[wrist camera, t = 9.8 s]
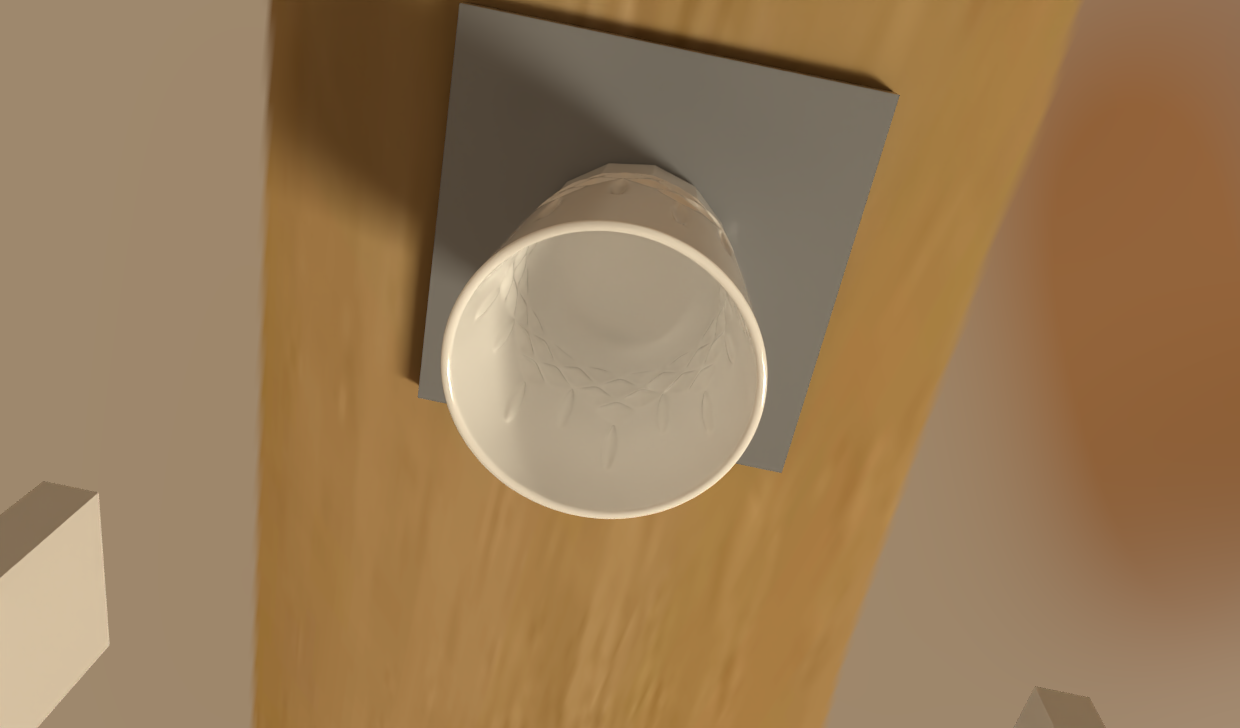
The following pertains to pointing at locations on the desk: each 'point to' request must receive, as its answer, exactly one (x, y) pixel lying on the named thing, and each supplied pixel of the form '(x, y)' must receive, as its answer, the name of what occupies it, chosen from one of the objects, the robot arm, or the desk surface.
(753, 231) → the coaster
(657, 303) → the white cup
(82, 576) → the robot arm
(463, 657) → the desk surface
